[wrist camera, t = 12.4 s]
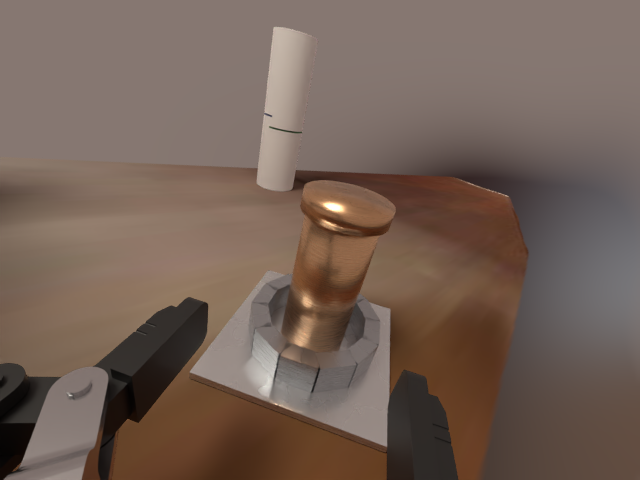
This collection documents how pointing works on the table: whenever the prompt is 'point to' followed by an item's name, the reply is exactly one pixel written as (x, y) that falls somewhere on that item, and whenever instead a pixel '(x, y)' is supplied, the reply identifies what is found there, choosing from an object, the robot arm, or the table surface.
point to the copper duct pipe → (332, 261)
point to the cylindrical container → (285, 107)
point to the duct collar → (305, 366)
